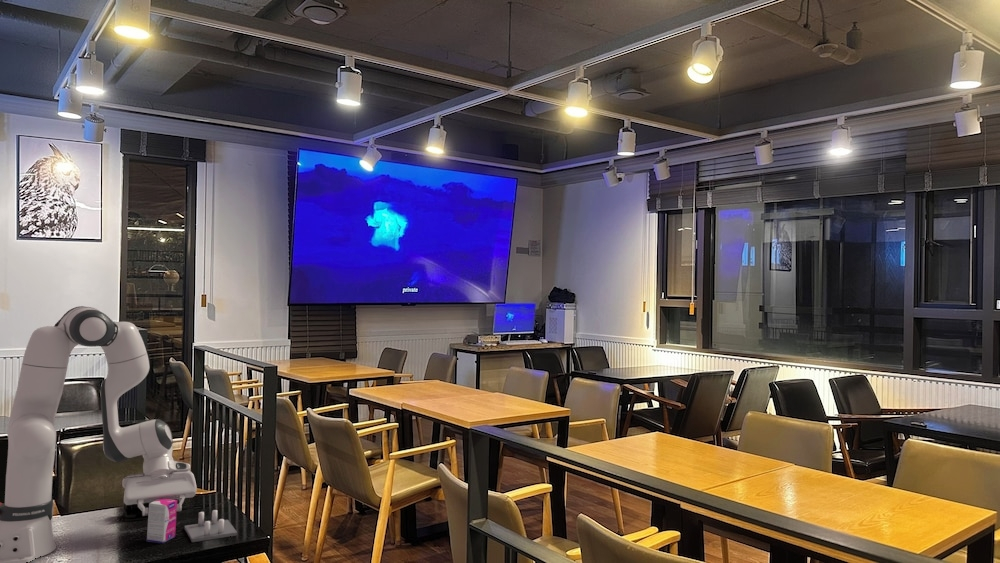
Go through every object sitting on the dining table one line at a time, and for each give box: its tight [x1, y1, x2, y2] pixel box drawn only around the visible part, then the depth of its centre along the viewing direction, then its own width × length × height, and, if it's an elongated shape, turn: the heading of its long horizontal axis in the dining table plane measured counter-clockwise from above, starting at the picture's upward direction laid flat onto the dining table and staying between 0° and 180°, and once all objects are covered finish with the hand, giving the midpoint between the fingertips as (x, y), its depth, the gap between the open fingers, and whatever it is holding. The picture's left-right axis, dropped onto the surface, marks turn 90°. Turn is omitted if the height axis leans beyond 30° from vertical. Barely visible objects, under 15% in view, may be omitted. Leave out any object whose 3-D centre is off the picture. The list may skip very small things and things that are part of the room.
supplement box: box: [146, 498, 178, 544], centre depth 213 cm, size 6×6×12 cm
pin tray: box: [184, 509, 238, 543], centre depth 221 cm, size 13×13×5 cm
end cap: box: [122, 502, 151, 522], centre depth 233 cm, size 10×7×7 cm
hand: (162, 512), depth 214 cm, fingers closed on supplement box, 8 cm apart
